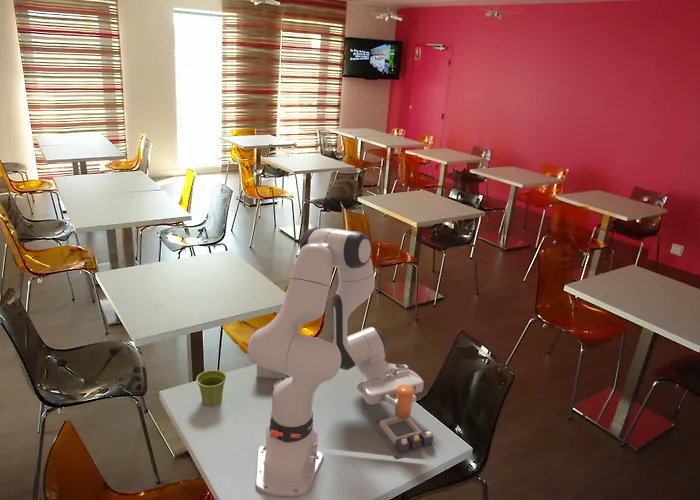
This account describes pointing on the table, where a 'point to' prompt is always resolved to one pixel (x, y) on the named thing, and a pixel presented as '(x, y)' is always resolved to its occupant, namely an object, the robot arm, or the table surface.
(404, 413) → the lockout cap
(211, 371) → the plant pot
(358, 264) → the robot arm
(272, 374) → the light bulb box
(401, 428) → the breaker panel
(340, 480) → the table surface
